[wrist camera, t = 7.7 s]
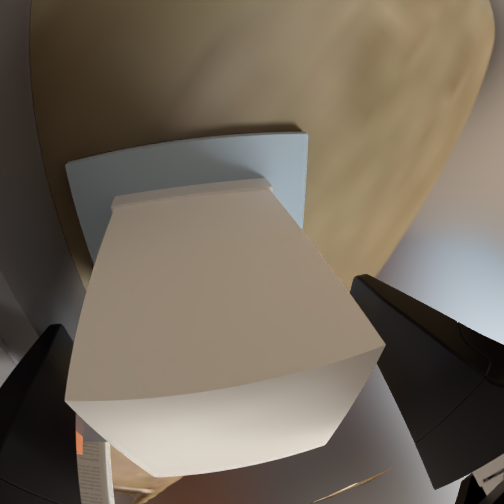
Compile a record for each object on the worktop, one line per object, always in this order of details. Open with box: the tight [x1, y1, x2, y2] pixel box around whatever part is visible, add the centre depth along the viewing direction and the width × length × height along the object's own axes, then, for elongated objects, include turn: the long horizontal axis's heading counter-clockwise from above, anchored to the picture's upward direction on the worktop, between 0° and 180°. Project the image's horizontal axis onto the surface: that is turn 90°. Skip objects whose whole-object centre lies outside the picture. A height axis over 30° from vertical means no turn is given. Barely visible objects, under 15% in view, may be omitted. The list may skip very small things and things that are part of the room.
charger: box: [65, 178, 386, 477], centre depth 8 cm, size 5×5×7 cm
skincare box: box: [77, 441, 115, 504], centre depth 12 cm, size 6×4×12 cm
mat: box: [65, 132, 308, 265], centre depth 11 cm, size 8×8×1 cm
